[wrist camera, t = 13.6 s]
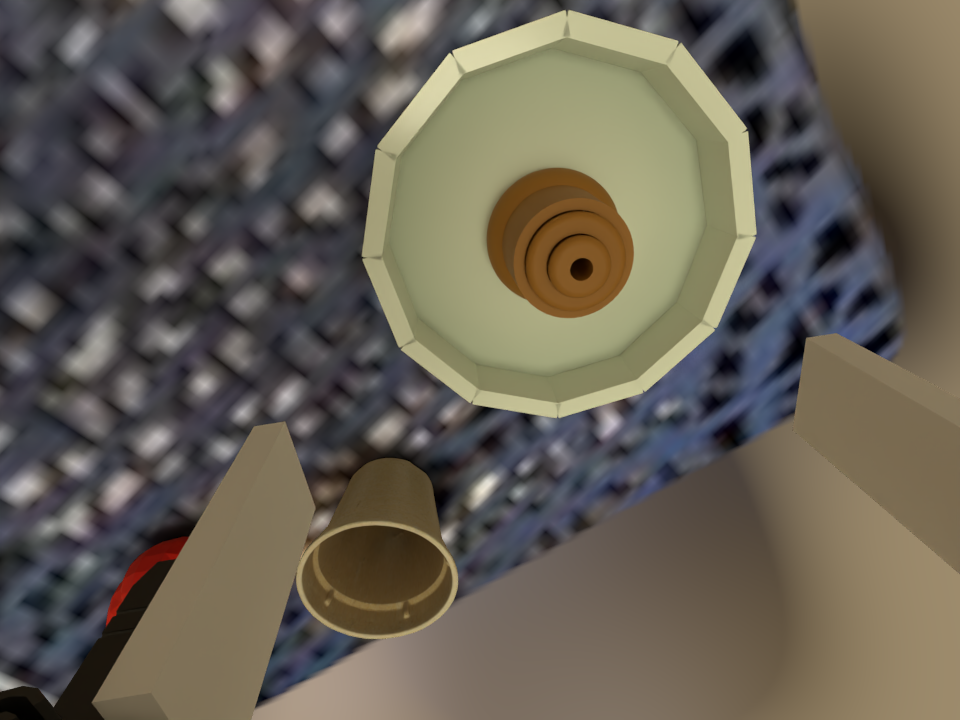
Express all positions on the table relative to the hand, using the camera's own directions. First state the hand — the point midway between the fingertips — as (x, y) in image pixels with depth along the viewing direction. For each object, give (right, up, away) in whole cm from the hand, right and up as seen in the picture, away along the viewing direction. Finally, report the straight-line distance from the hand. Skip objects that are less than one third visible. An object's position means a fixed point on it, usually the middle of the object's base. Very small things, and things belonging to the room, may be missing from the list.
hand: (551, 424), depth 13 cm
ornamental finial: (+2, +9, +17) cm, 19 cm away
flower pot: (-8, -8, +25) cm, 28 cm away
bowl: (+2, +9, +18) cm, 20 cm away
